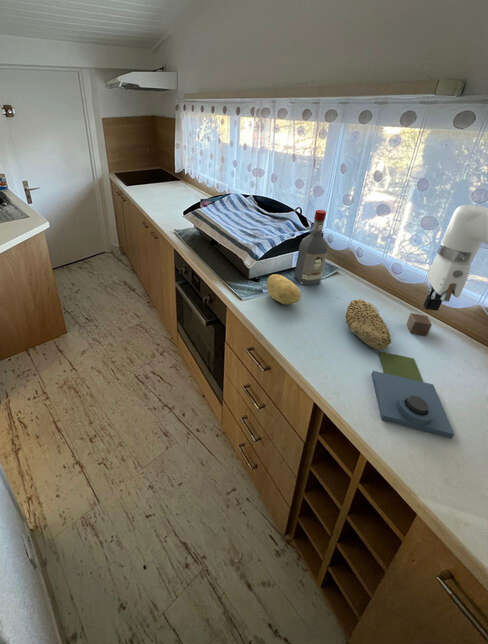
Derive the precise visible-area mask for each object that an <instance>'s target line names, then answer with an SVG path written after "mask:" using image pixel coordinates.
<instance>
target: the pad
mask: <svg viewBox="0 0 488 644" xmlns="http://www.w3.org/2000/svg"><path fill="white" fill-rule="evenodd" d="M378 354H379V358H380V363H381V367H382V370H383V373H386V374H390V375H394V376H399V377H403V378H408V379H412V380H416V381H421V382H424V380H423V378H422V375H421V373H420V369H419V368H418V365H417V363H416V360H415V358H413V357H409V356H404V355H399V354H395V353H390V352H385V351H381V350H379V351H378Z"/></svg>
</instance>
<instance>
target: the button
mask: <svg viewBox="0 0 488 644" xmlns="http://www.w3.org/2000/svg"><path fill="white" fill-rule="evenodd" d="M406 406H407V408H408V409H409V410H410V411H412V412H413V413H415V414H417V415H425V414H426V412H427V410H428V404H427V403H426V402H425V401H424V400H423V399H422V398H420V397H418V396H409V397H408V399H407V401H406Z"/></svg>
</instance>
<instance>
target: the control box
mask: <svg viewBox="0 0 488 644" xmlns="http://www.w3.org/2000/svg"><path fill="white" fill-rule="evenodd" d="M371 379H372V384H373V387H374V393H375V397H376V402H377V406H378V410H379V415H380V420H381V421H383V422H388V423H391V424H396V425H399V426H402V427H406V428H410V429H414V430H418V431H421V432H424V433H429V434H432V435H436V436H438V437H439V436H440V437H442V438H447V439H453V438H454V437H455V434H456V433H455V432H454V429H453V427H452V424H451V423H450V420H449V417H448V416H447V413H446V411H445V408H444V407H443V404H442V401H441V399H440V397H439V395H438V392H437V390H436V387H435V385H434V384H433V383H429V382H424V381H423V382H421V381H416V380H412V379H408V378H403V377H399V376H394V375H390V374H386V373H384V372H381V371H378V370H377V371H376V370H372V372H371ZM409 396H418V397H420V398H422V399H423V400H424V401H425V402H426V403H427V404H428V410H427V412H426V414H425V415H417V414H415V413H413V412H412V411H410V410H409V409H408V408H407V406H406V401H407V399H408V397H409Z"/></svg>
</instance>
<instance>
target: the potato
mask: <svg viewBox="0 0 488 644" xmlns="http://www.w3.org/2000/svg"><path fill="white" fill-rule="evenodd" d="M266 290H267V292H268V295H269V297H271V298H272V299H273V300H275V301H276V302H278V303H279V304H282V305H285V306H286V305H295V304H297V303H298V302H300V300H301V297H302V293H301V290H300V289H299V287H298V286H297V285H296V284H295V283H294V282H292V281H291V280H290V279H288V278H287V277H285V276H283V275H281V274H278V273H277V274H273V273H272V274H271V275H269V276H268V277H267V281H266Z"/></svg>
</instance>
